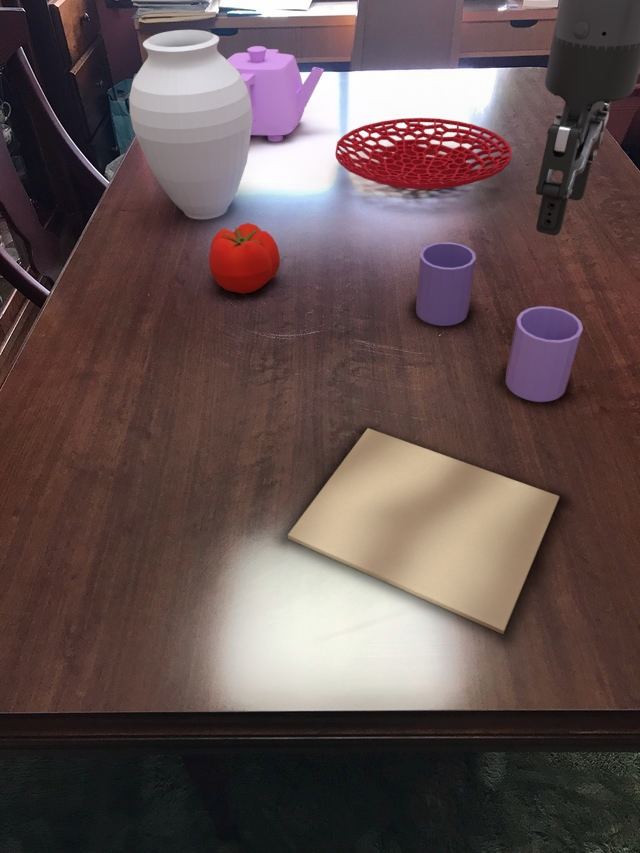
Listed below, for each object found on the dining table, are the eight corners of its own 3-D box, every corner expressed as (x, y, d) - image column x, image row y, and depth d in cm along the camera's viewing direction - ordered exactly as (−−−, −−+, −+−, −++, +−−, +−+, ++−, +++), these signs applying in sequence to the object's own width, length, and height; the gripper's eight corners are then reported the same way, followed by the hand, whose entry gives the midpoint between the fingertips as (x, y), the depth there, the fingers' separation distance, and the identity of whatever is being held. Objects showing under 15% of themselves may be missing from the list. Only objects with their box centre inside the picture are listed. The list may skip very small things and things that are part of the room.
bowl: (357, 140, 133) (357, 113, 129) (513, 152, 126) (517, 123, 123) (315, 205, 112) (314, 175, 109) (499, 224, 106) (504, 192, 102)
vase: (241, 239, 104) (221, 58, 87) (132, 230, 107) (92, 53, 90) (273, 190, 117) (260, 23, 100) (174, 183, 120) (146, 21, 103)
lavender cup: (572, 375, 78) (589, 316, 73) (556, 409, 74) (573, 348, 68) (515, 359, 81) (528, 300, 75) (497, 391, 76) (508, 331, 71)
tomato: (211, 302, 91) (203, 251, 86) (215, 268, 98) (208, 219, 93) (281, 299, 91) (277, 248, 86) (281, 265, 98) (278, 216, 93)
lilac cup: (475, 305, 89) (483, 249, 84) (456, 331, 85) (463, 274, 80) (427, 293, 92) (432, 237, 86) (407, 317, 87) (411, 261, 82)
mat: (558, 500, 64) (559, 496, 64) (502, 634, 54) (504, 630, 54) (367, 431, 72) (367, 427, 72) (287, 539, 62) (287, 534, 62)
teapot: (200, 128, 140) (188, 45, 129) (276, 108, 147) (271, 29, 137) (248, 157, 128) (239, 69, 118) (327, 134, 135) (326, 50, 125)
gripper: (630, 57, 51) (580, 254, 62) (664, 15, 60) (615, 194, 71) (530, 46, 54) (499, 236, 65) (577, 7, 63) (543, 180, 74)
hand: (560, 214), depth 68 cm, fingers open, 8 cm apart
